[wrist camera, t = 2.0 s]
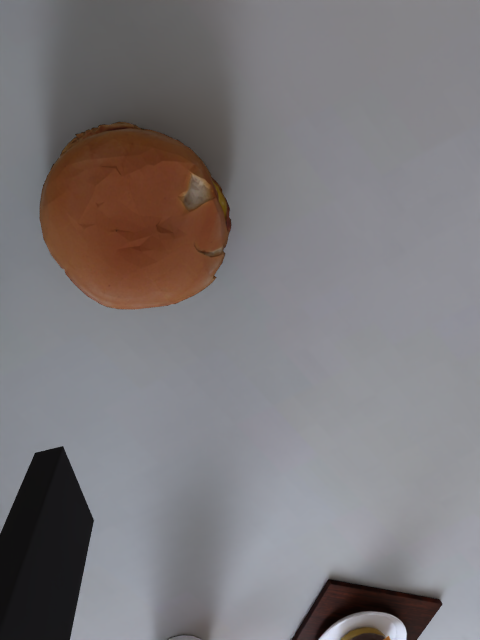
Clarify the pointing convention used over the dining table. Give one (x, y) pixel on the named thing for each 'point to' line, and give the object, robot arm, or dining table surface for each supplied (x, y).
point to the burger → (134, 217)
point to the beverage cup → (184, 638)
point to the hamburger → (366, 614)
